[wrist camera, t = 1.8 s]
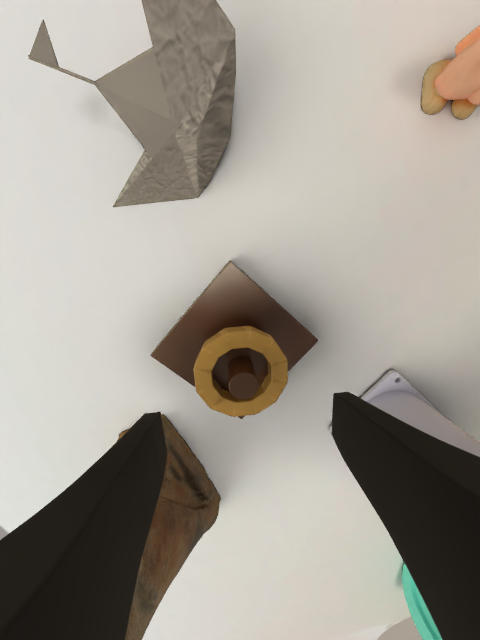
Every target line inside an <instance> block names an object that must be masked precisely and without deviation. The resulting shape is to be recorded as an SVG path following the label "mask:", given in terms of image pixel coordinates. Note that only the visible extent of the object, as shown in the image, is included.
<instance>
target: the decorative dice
mask: <svg viewBox="0 0 480 640" xmlns="http://www.w3.org/2000/svg"><path fill="white" fill-rule="evenodd" d="M402 581H403V589H404V594H405V598H406V602H407V605H408V608H409V611H410V614H411V616H412V618H413V621H414V623H415V625H416V627H417V629H418V631H419V633H420V635H421V637H422V639H423V640H442V638H441V635H440V633H439V631H438V629H437V627H436V625H435V623H434V621H433V619H432V617H431V614H430V612H429V610H428V608H427V606H426V604H425V602H424V600H423V598H422V596H421V594H420V592H419V590H418V588H417V586H416V584H415V582H414V580H413V578H412V576H411V574H410V572H409V570H408V568H407V567H406V565H405V563H404V565H403V572H402Z"/></svg>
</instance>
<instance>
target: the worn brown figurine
mask: <svg viewBox="0 0 480 640" xmlns="http://www.w3.org/2000/svg"><path fill="white" fill-rule="evenodd" d="M161 419H162V425H163V430H164V436H165V441H166V447H167V453H168V454H167V461H166V467H165V473H164V479H163V483H162V487H161V491H160V494H159V498H158V502H157V505H156V509H155V512H154V516H153V519H152V523H151V526H150V530H149V534H148V537H147V541H146V544H145V548H144V551H143V555H142V559H141V563H140V567H139V571H138V576H137V581H136V586H135V591H134V596H133V601H132V606H131V611H130V616H129V621H128V627H127V632H126V637H125V640H142V638H143V636H144V633H145V631H146V629H147V627H148V625H149V623H150V621H151V619H152V617H153V615H154V613H155V611H156V609H157V607H158V605H159V604H160V602H161V600H162V598H163V596H164V594H165V593H166V591H167V589H168V587H169V586H170V584H171V583H172V581H173V580H174V578H175V577H176V575H177V574H178V572H179V570H180V569H181V567H182V565H183V564H184V562H185V560H186V559H187V557H188V556H189V554H190V553H191V551H192V549H193V548H194V547H195V545H196V544H197V542H198V541H199V540H200V539H201V537H202V535H203V534H204V533H205V532H206V531H208V530H209V529H210V528H211V527H212V525H213V524H214V523H215V521H216V519H217V516H218V511H219V502H220V500H221V499H220V496H219V494H218V492H217V490H216V488H215V487H214V485H213V483H212V481H210V479H209V478H207V477H208V476H207V474H206V473H205V469H204V467H203V466H202V465H201V464H200V462H199V460H198V459H196V456H195V455H194V454H193V453H192V451H191V449H190V448H189V447H188V445H187V444H186V442H185V440H183V438H182V437H181V436H180V435H179V434H178V432H177V430H176V429H175V428H174V427H173V425H172V424H171V423H170V422H169V420H168V419H167V418H166V417H165V416H164V415H161ZM128 430H129V429H128ZM128 430H127V431H128ZM127 431H124V432H122V433H120V434H119V439H120V438H121V437H122V436H123V435H124V434H125V433H126V432H127ZM119 439H118V440H119Z"/></svg>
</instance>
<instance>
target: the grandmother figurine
mask: <svg viewBox="0 0 480 640" xmlns="http://www.w3.org/2000/svg"><path fill="white" fill-rule="evenodd" d="M455 53H456V57H455V58H454V59H453V60H441V61H438V62H436V63H434V64H432V65H431V66H430V67H429V68H428V69H427V71H426V73H425V75H424V78H423V86H422V98H421V99H422V101H421V105H422V109H423V111H424V112H425V113H427V114H436V113H438V112H440V111H441V110H442V109H443V107H444V106H445V104H446V102H447V100H453V103H452V107H451V110H452V113H453V115H454V116H455V117H457V118H459V119H465V118H467V117H469V116H470V115H471V114H472V112H473V111H474V110H475V108H476V107H477V106H478V105H480V25H479V26H478V27H477V28H475V29H474V30H473V31H472V32H470V33H469V34H468V35H467V36H466V37H465V38H463V39H462V40H461V41H460V42H459V43H458V44H457V45H456V50H455Z"/></svg>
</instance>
